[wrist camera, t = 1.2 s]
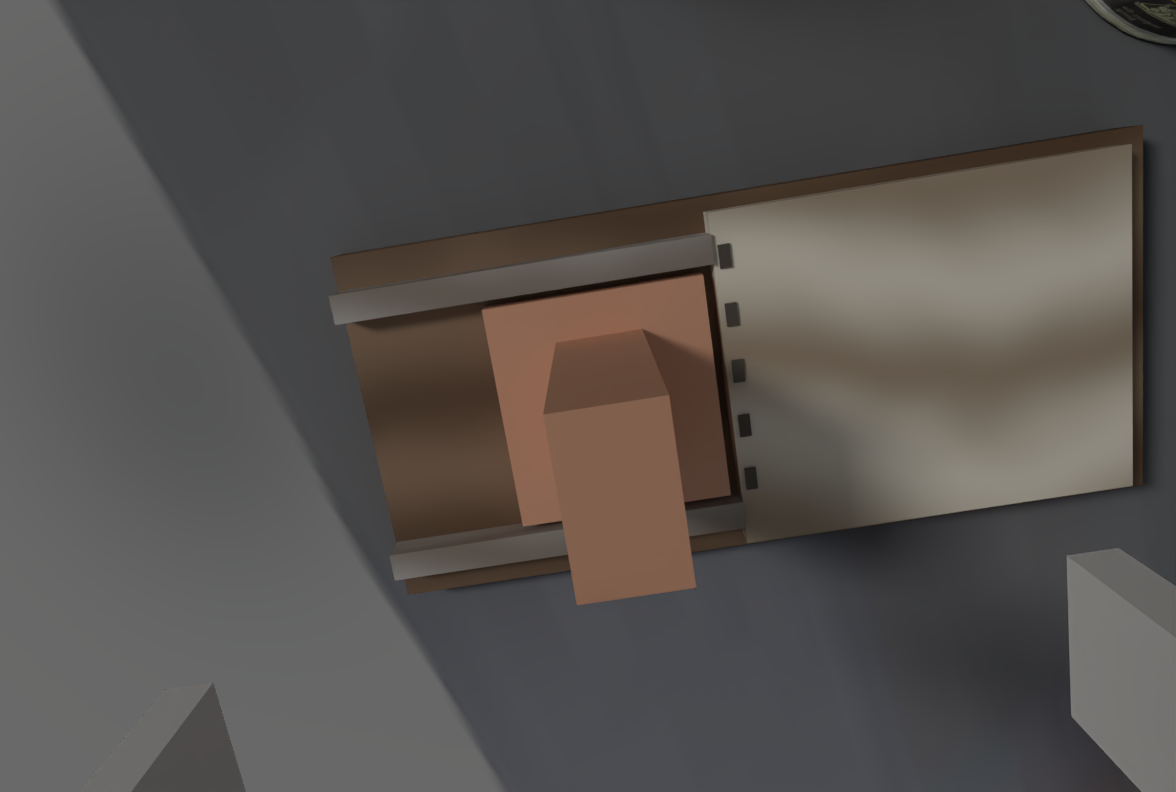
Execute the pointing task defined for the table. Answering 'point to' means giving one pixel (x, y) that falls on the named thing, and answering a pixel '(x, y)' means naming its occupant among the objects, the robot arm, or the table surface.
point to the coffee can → (1140, 17)
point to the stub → (613, 426)
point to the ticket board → (793, 348)
